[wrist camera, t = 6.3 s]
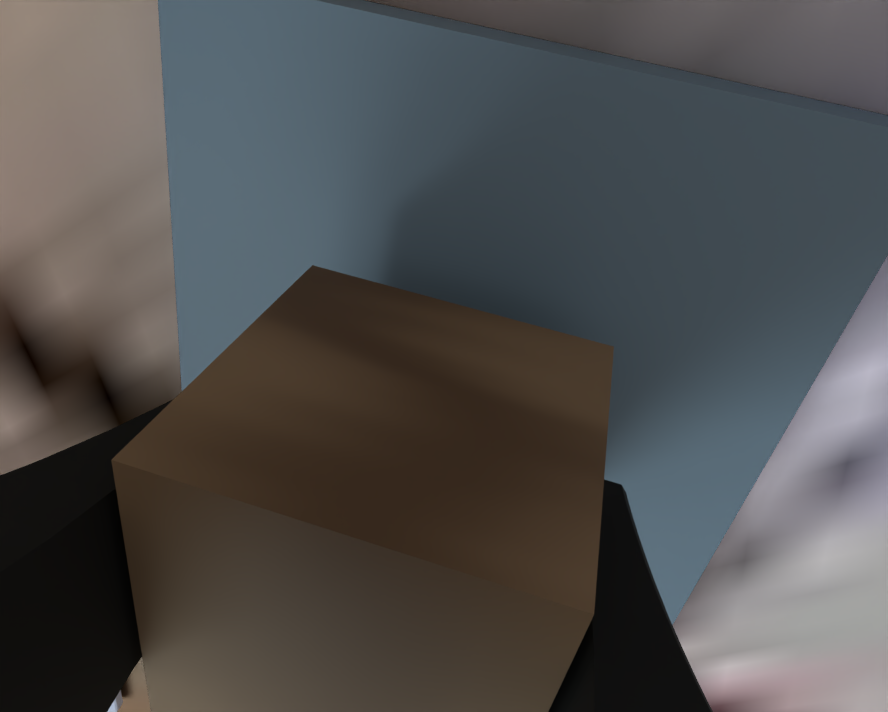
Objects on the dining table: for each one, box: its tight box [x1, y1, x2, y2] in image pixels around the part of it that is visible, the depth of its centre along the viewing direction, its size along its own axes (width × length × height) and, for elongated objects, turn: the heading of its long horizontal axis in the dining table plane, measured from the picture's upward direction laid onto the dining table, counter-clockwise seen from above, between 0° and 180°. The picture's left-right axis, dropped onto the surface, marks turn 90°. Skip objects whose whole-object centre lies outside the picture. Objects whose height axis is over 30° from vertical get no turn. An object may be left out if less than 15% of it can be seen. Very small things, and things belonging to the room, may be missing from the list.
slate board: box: [158, 0, 888, 625], centre depth 14 cm, size 12×12×1 cm
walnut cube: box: [111, 265, 614, 712], centre depth 10 cm, size 5×5×5 cm
